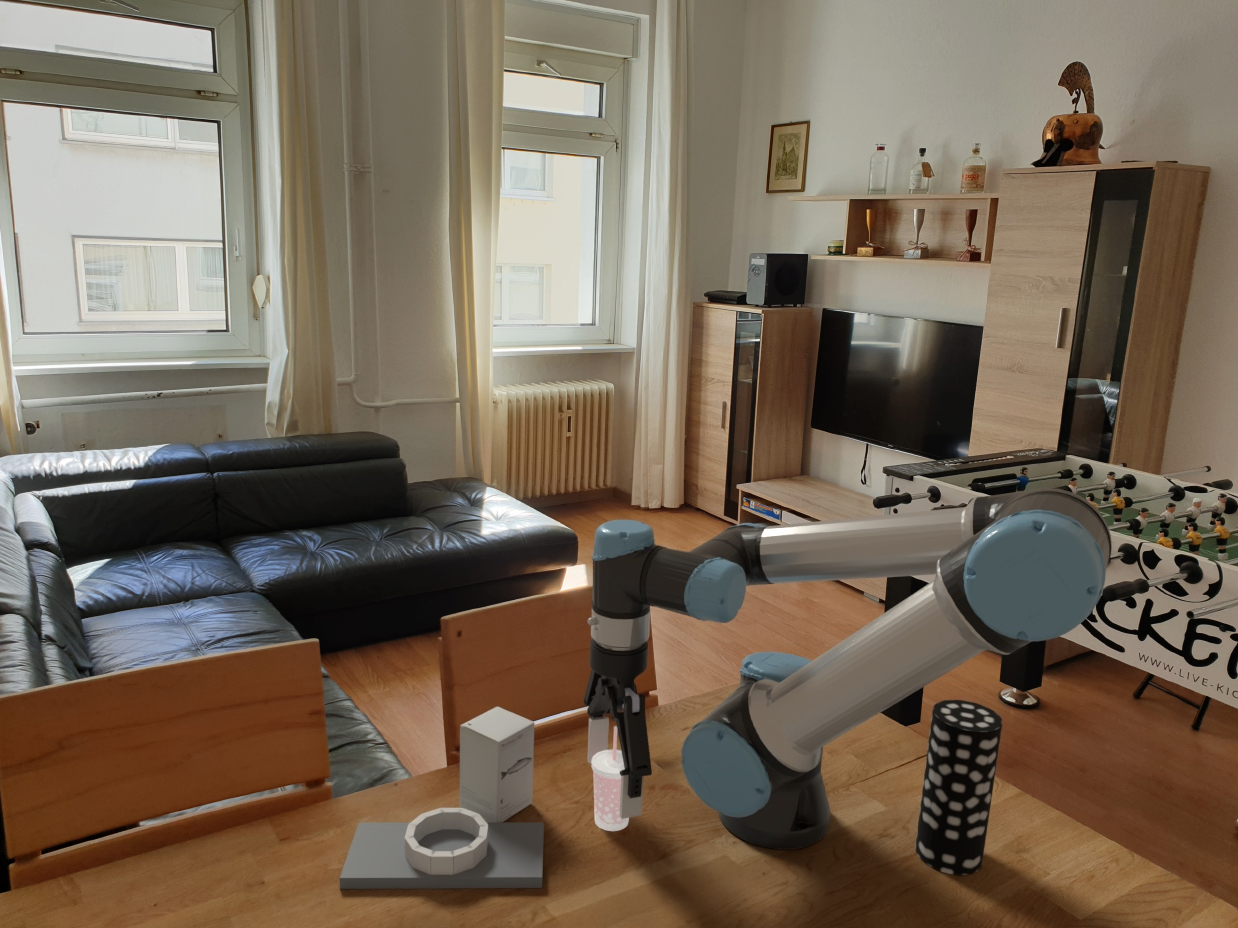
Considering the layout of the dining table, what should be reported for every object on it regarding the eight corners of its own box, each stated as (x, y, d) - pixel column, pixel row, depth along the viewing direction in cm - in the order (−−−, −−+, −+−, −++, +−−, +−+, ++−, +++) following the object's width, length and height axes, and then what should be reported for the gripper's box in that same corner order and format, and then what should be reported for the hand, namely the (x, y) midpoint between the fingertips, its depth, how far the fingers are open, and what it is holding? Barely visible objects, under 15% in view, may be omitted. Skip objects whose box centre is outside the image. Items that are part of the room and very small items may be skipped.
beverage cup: (612, 840, 124) (617, 743, 120) (579, 820, 128) (582, 726, 124) (643, 820, 128) (648, 727, 125) (610, 802, 132) (614, 710, 129)
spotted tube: (912, 864, 121) (930, 722, 117) (917, 828, 129) (934, 694, 124) (981, 882, 118) (1002, 737, 114) (982, 844, 126) (1002, 707, 121)
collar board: (543, 832, 125) (544, 805, 124) (541, 887, 114) (542, 858, 113) (359, 832, 123) (358, 805, 122) (339, 888, 112) (338, 859, 111)
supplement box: (496, 828, 125) (497, 742, 122) (457, 807, 129) (457, 723, 126) (534, 804, 131) (536, 721, 128) (495, 784, 135) (496, 703, 132)
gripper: (564, 606, 132) (560, 743, 137) (624, 685, 109) (617, 847, 114) (615, 601, 134) (609, 736, 139) (684, 678, 112) (674, 836, 116)
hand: (613, 786), depth 127 cm, fingers open, 13 cm apart
